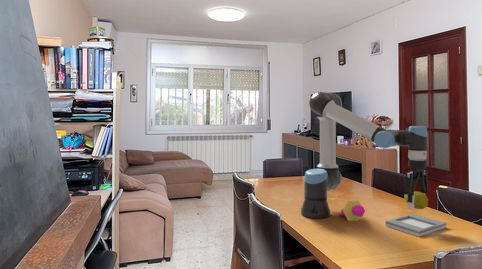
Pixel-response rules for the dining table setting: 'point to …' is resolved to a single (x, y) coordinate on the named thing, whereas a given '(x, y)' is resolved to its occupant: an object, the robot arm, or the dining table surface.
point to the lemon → (418, 200)
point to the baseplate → (415, 224)
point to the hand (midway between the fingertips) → (416, 207)
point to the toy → (353, 211)
